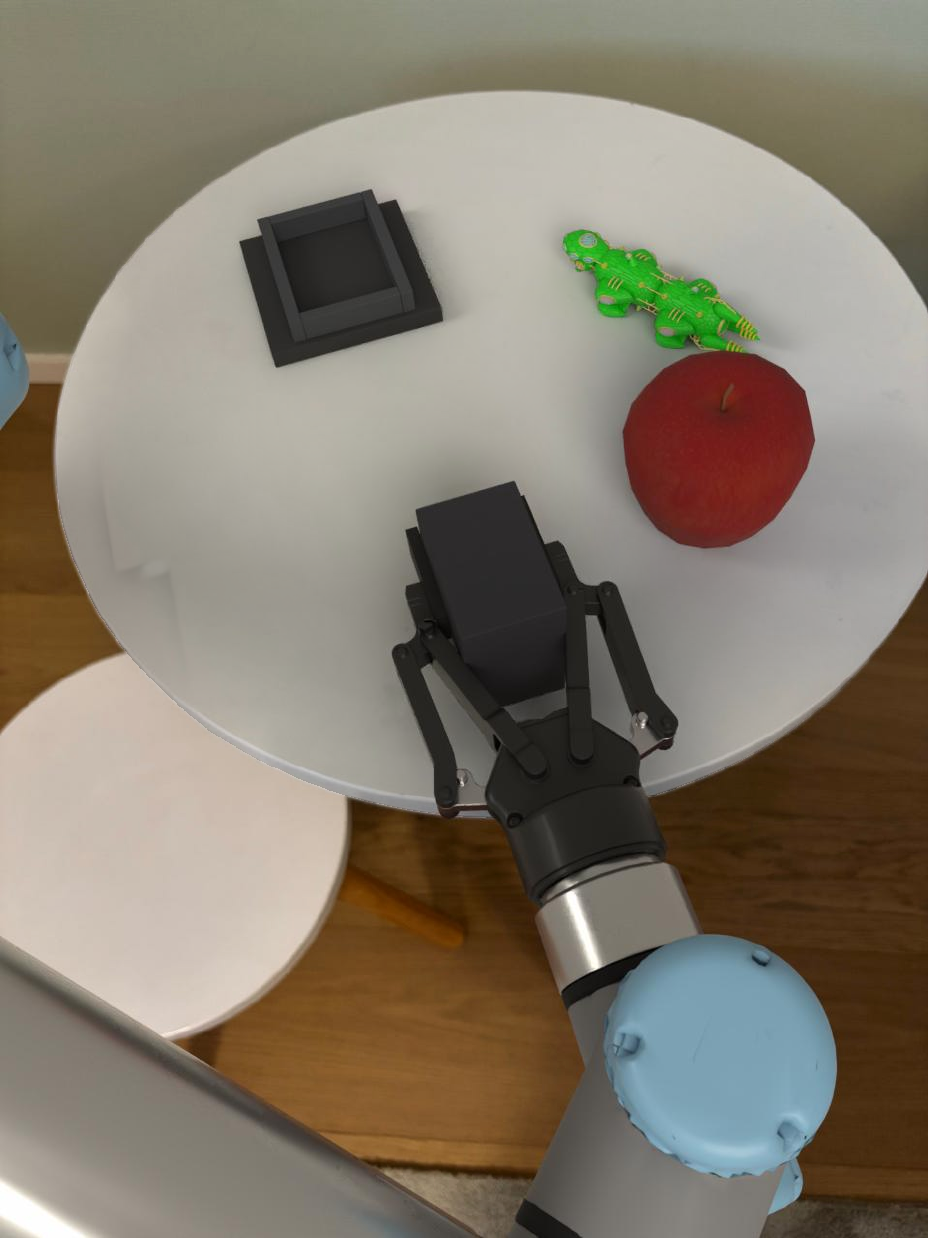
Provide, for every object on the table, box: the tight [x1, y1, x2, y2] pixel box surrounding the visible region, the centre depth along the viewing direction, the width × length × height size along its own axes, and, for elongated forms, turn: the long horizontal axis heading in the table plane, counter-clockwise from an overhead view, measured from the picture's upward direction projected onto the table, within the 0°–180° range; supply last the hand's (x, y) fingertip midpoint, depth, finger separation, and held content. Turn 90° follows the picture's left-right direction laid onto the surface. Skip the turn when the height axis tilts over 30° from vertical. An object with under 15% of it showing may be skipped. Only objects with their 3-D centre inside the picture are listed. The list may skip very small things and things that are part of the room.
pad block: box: [415, 480, 567, 708], centre depth 62 cm, size 6×9×10 cm, turn 17°
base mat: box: [239, 188, 444, 368], centre depth 85 cm, size 14×14×4 cm
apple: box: [621, 350, 816, 549], centre depth 67 cm, size 12×12×13 cm
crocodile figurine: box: [561, 228, 761, 353], centre depth 81 cm, size 7×18×4 cm, turn 49°
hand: (466, 525), depth 63 cm, fingers closed on pad block, 6 cm apart
